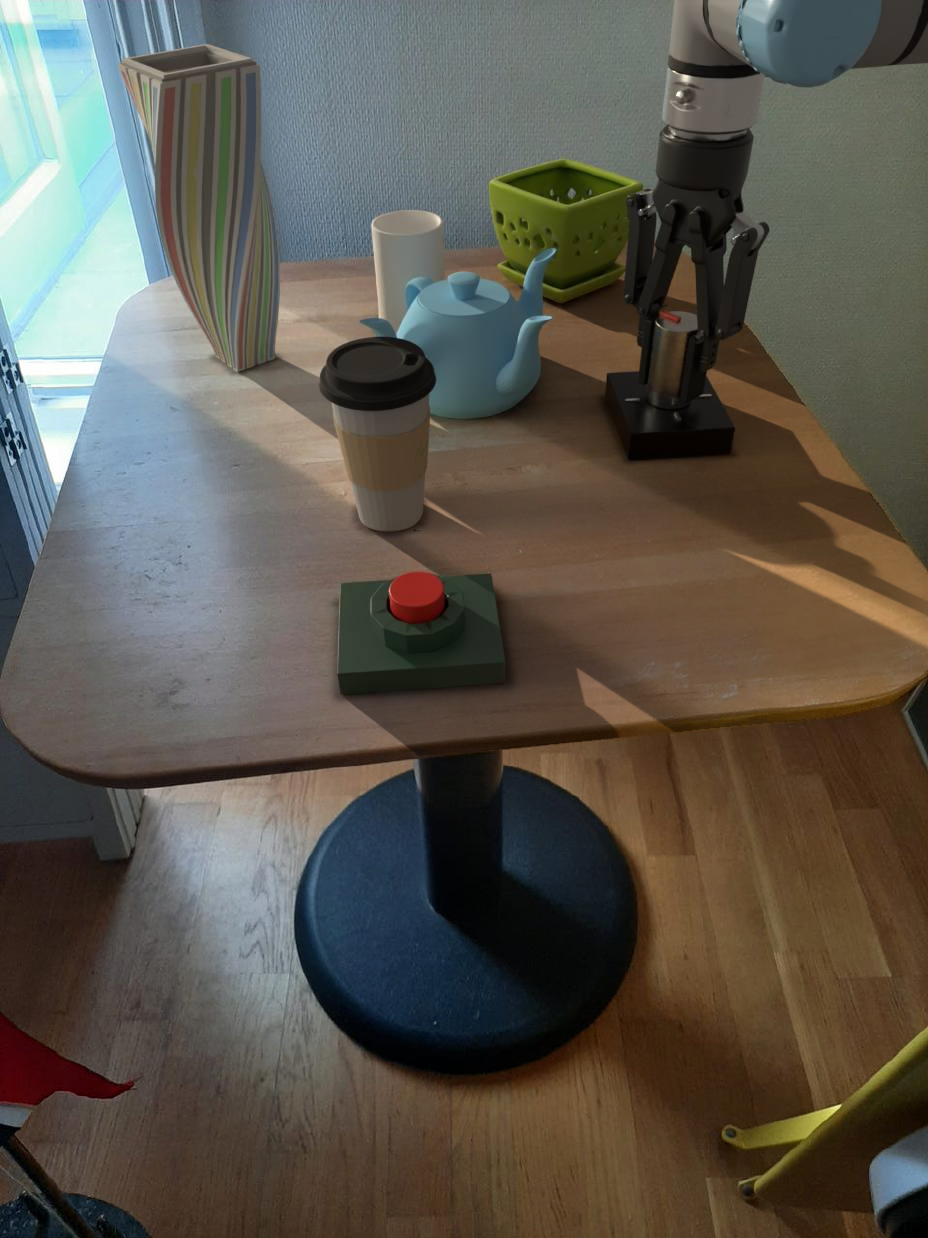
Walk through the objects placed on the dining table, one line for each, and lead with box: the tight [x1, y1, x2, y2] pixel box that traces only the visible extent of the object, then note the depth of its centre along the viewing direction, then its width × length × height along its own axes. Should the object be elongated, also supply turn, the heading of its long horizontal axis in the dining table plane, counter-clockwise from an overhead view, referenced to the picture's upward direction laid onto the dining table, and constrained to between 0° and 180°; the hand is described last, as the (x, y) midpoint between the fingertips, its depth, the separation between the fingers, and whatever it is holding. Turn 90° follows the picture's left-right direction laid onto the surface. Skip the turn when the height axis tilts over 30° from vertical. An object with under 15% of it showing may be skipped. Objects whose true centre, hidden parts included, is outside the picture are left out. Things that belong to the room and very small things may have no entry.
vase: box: [116, 43, 281, 373], centre depth 96 cm, size 14×14×30 cm
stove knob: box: [646, 309, 698, 409], centre depth 88 cm, size 4×4×8 cm
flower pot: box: [488, 158, 644, 304], centre depth 115 cm, size 14×14×13 cm
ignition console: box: [336, 572, 506, 696], centre depth 69 cm, size 10×12×4 cm
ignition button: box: [389, 571, 445, 624], centre depth 68 cm, size 4×4×2 cm
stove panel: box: [604, 370, 737, 461], centre depth 92 cm, size 12×10×3 cm
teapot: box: [359, 248, 556, 420], centre depth 95 cm, size 17×19×12 cm
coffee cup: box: [318, 336, 436, 533], centre depth 78 cm, size 9×9×15 cm
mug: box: [371, 209, 446, 334], centre depth 109 cm, size 12×8×12 cm
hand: (670, 387), depth 90 cm, fingers closed on stove knob, 4 cm apart
